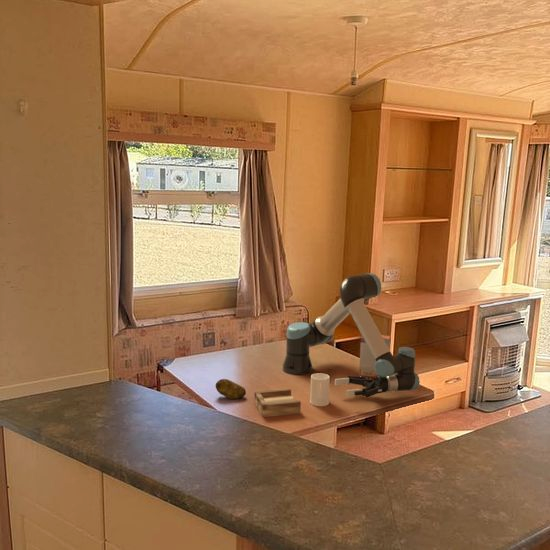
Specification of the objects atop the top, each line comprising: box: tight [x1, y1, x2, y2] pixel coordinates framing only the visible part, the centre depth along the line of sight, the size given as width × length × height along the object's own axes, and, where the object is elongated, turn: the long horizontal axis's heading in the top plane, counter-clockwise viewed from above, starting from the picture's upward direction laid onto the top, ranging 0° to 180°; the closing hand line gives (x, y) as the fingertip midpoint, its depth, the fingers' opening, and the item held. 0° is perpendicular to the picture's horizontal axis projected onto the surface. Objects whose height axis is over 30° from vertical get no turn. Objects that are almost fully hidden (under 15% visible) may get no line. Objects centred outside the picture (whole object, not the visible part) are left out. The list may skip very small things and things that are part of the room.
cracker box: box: [358, 334, 392, 379], centre depth 277 cm, size 14×6×21 cm, turn 71°
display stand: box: [254, 388, 302, 418], centre depth 239 cm, size 15×16×5 cm
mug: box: [309, 372, 331, 407], centre depth 243 cm, size 12×8×12 cm
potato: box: [215, 378, 247, 400], centre depth 249 cm, size 8×13×8 cm, turn 68°
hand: (340, 387), depth 245 cm, fingers open, 13 cm apart
